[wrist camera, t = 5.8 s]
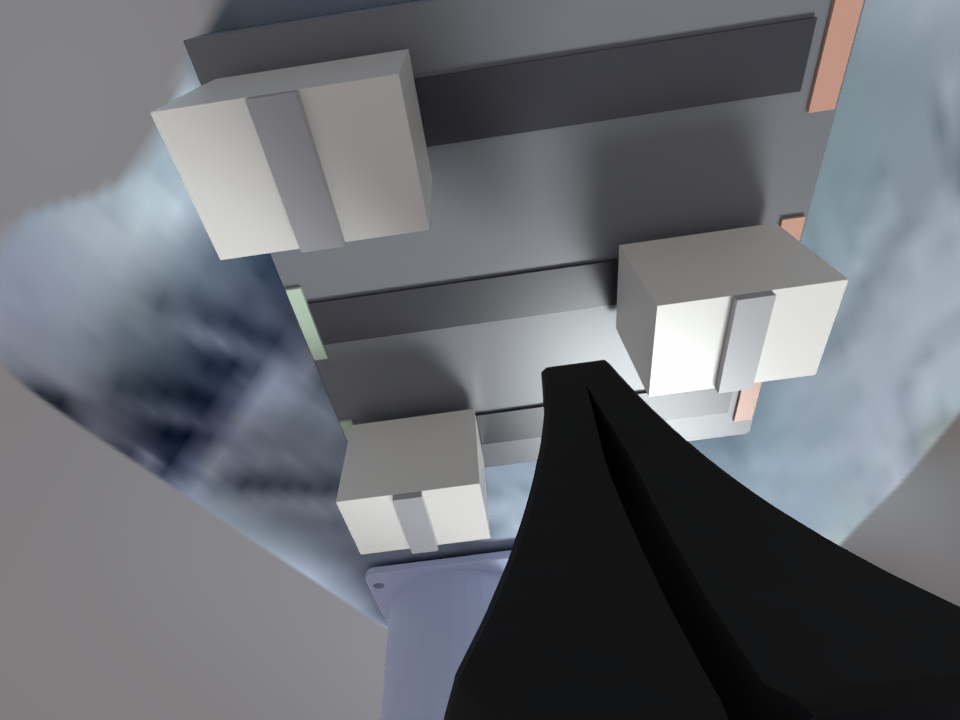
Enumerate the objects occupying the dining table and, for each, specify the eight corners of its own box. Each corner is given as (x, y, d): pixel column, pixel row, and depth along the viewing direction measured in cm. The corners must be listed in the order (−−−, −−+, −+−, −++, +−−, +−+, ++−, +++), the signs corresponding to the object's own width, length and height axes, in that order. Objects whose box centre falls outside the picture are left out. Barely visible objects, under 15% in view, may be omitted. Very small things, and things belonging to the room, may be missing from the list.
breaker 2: (484, 462, 18) (490, 543, 16) (371, 477, 18) (359, 560, 16) (474, 408, 17) (480, 489, 14) (350, 425, 17) (334, 508, 14)
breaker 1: (431, 177, 12) (429, 234, 10) (264, 202, 12) (216, 264, 10) (408, 48, 10) (397, 76, 8) (215, 79, 11) (144, 115, 8)
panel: (733, 410, 20) (750, 435, 19) (367, 458, 20) (363, 485, 19) (846, -68, 11) (888, -71, 10) (204, 34, 11) (181, 41, 10)
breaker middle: (755, 308, 15) (820, 379, 12) (615, 328, 15) (651, 402, 12) (775, 222, 13) (853, 284, 11) (619, 245, 13) (660, 311, 11)
